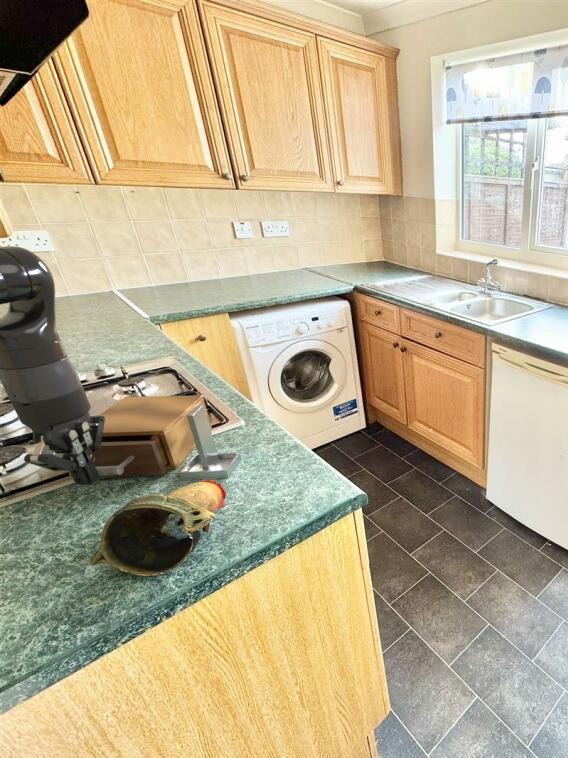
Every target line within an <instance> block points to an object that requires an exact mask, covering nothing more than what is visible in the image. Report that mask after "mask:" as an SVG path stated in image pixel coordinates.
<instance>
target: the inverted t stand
mask: <svg viewBox="0 0 568 758" xmlns="http://www.w3.org/2000/svg"><path fill="white" fill-rule="evenodd" d="M187 418H188V422H189V425H190V428H191V432H192V435H193V438H194V441H195V445H196V448H195V449H196V451H197V453H195V454H194V455H193V456H192V457H191V458H190V459H189V461H188V462H187V463H186V464H185V465H184V466H183V468H182V469H181V470H180V471H179V472H178V475H179V477H180V480H181V481H192V480H193V481H194V480H213V479H214V480H215V479H229V478H230V477H231V475H232V474H233V473H234V471H235V469H236V468H237V467H238V465H239V464H240V463H241V462H242V455H241V452H240V451H238V452H218V451H217V447H216V443H215V440H214V437H213V433H212V430H211V429H210V426H209V422H208V419H207V415H206V412H205V408H204V405H197V406H196V407H195V408H194V409H193V410H192V411H191V412H190V413H189V414H188V415H187Z"/></svg>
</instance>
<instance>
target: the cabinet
mask: <svg viewBox="0 0 568 758" xmlns="http://www.w3.org/2000/svg"><path fill="white" fill-rule="evenodd" d="M197 405H204V408H205V412H206V415H207V419H208V422H209V426H210V429H212V430H213V427H212V423H211V421H210V417H209V413H208V410H207V406H206V402H205V398H204V396H203V395H202V394H201V395H153V396H151V395H149V396H145V395H143V396H124V397H122V398H121V399H120V400H118V401H117V402H115V403H114V404H113V405H111V406H110V407H108V408H106V409H105V410H104V411H101V413H99V414H98V415H97V416H104V417H105V423H104V429H103V435H102V436H130V435H160V436H161V439H162V442H163V445H164V448H165V451H166V454H167V457H168V459H169V462H168V463H167V464H166V465H165V466H164V467H165V469H166V470H176V469H178V468H179V467H180V465H181V464H182V463H183V462H184V461H185V460H186V459H187V458H188V457H189V456H190V455H191V454H192V453H193V451H194V450H195V449H197V448H196V445H195V441H194V438H193V435H192V432H191V428H190V425H189V422H188V418H187V415H188V414H189V413H190V412H191V411H192V410H193V409H194V408H195V407H196V406H197Z"/></svg>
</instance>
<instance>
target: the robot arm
mask: <svg viewBox="0 0 568 758" xmlns="http://www.w3.org/2000/svg"><path fill="white" fill-rule="evenodd" d="M5 304H8V308H7V312H6V313H5V314H4V315H3V316H1V317H0V383H1V385H2V387H3V389H4V392H5V393H6V395H7V397H8V400H9V401H10V403H11V405H12V408H13V409H14V411H15V413H16V415H17V417H18V419H19V421H20V423H21V424H22V425H24V426H26V427H27V428H28V429H30V430H31V431H32V441H33V442H34V444H35V445H36V446H35V448H34V451H33V452H32V453H27V454H25V456H24V457H23V460H24V462H25V463H28V464H30V465H34V466H37V467H40V468H43V469H45V470H49V471H52V472H62V471H68V472H69V471H70V474H71V476H72V477H71V476H70V477H71V478H72V479H73V482H74V483H75V484H76V485H79V486H87V485H88V486H89V485H92V484H94V483H95V482H96V481H97V480H98V479H100V478H99V477H98V473H97V469H96V467H95V465H94V463H93V459H94V452H95V451H99V450H100V447H101V441H102V435H103V429H104V423H105V417H104V416H98V415H91V414H90V410H91V403H90V400H89V398H88V396H87V394H86V391H85V389H84V386H83V384H82V382H81V379H80V376H79V375H78V372H77V370H76V367H75V366H74V364H73V362H72V361H71V359H70V358H69V355H68V354H67V351H66V349H65V347H64V344H63V342H62V339H61V337H60V335H59V332H58V330H57V310H56V285H55V279H54V276H53V273H52V272H51V269H50V267H49V266H48V264H46V262H45V261H44V260H43V259H42V258H41V257H40V256H39V255H37V254H36V253H34V252H33V251H31V250H29V249H27V248H25V247H21V246H13V245H7V246H5V245H4V246H0V305H5ZM91 437H93V441H92V438H91ZM70 458H71V459H70Z"/></svg>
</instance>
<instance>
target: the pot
mask: <svg viewBox="0 0 568 758" xmlns="http://www.w3.org/2000/svg"><path fill="white" fill-rule="evenodd" d="M226 496H227V492H225V489H224V488H223V486H222V484H220V483H219V482H217V481H215V480H211V479H207V480H201V481H197V482H194V483H191V484H187V485H185V486H182V487H180V488H177V489H174V490H173V491H170V492H169V493H167V494H165V495H163V494H162V493H151V494H146V495H142V496H139V497H136V498H134V499H132V500H130V501H128V502H127V503H126V504H124V505H123V506H122V507H120V509H118V510H116V511H115V512H114V513H113V514H112V515H111V516H110V517H109V519H108V520H107V522H106V523H105V525H104V527H103V529H102V531H101V536H100V546H99V548H98V550H97V551H96V552H95V553H94V555H92V557H91V559H90V561H89V563H88V565H87V566H89V567H91V566H93V567H95V566H102V565H104V566H108V565H109V566H110V565H111V567H115V568H117V569H119V570H120V571H121V572H125V573H130V574H132V575H133V574H134V575H136V576H143V577H151V576H158V575H159V574H160V575H163V574H164V573H165V574H168V573H169V572H171V570H172V571H175V570H176V569H177V568H179V567H180V565H183V563H184V562H185V561H186V560H187V558H188V557H189V556H190V555H191V554H192V552H194V550H195V549H196V547H197V545H198V543H199V541H200V539H201V530H202V532H203V533H206V534H208V533H209V532H210V530H211V525H212V522H213V519H214V518H215V517H216V513H215V511H217V510H219V509H221V508H222V506H224V504H225V503H224V502H225V499H226ZM171 515H175V516H178V517H179V520H177V522H176V525H177V526H182V525H183V526H182V529H181V531H182V532H184V533H185V534H186V535H187V536H185V537H182V538H179V539H178V538H177V537H176V536H174V535H173V534H172V533H170V532H169V531H168V530H166V529H165V528H163V527H164V526H165V525H166V524H167V522H168V521H169V520H170V516H171Z"/></svg>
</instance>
